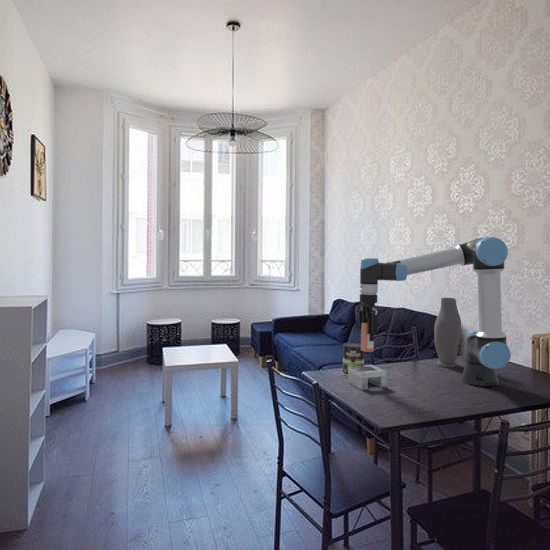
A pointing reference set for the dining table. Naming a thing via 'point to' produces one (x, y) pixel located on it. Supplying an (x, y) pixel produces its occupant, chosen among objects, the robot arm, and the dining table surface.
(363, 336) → the orange rectangular block
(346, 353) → the coffee can
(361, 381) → the square tube ring
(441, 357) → the vase
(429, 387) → the dining table surface
